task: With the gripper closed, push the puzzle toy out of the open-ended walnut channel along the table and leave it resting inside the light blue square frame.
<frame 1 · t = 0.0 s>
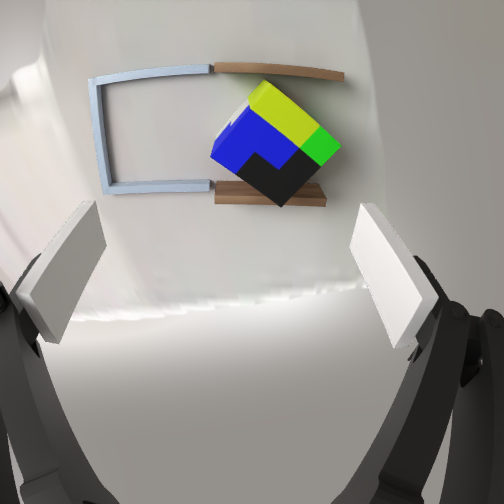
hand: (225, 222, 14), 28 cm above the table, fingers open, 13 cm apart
puzzle toy: (268, 128, 38), on the table
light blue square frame: (155, 130, 37), on the table
channel: (272, 129, 38), on the table
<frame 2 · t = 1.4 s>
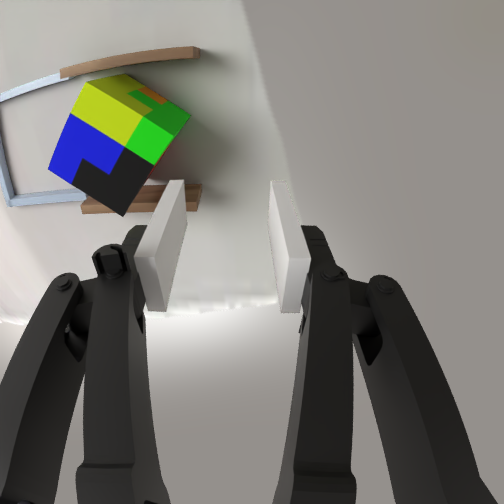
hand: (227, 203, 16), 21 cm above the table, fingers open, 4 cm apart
puzzle toy: (135, 126, 32), on the table
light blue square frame: (38, 142, 31), on the table
channel: (138, 126, 32), on the table
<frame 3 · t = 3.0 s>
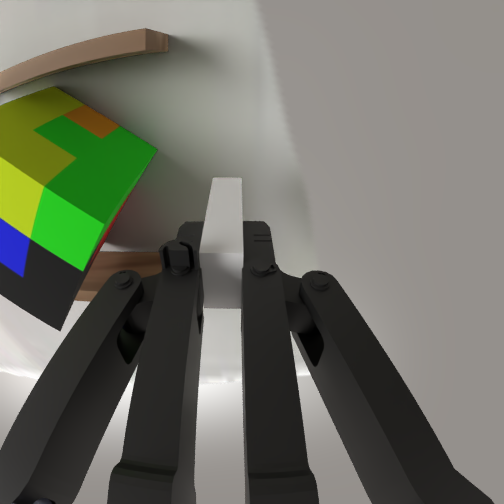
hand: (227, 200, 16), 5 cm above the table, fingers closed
puzzle toy: (77, 167, 20), on the table
channel: (81, 168, 19), on the table
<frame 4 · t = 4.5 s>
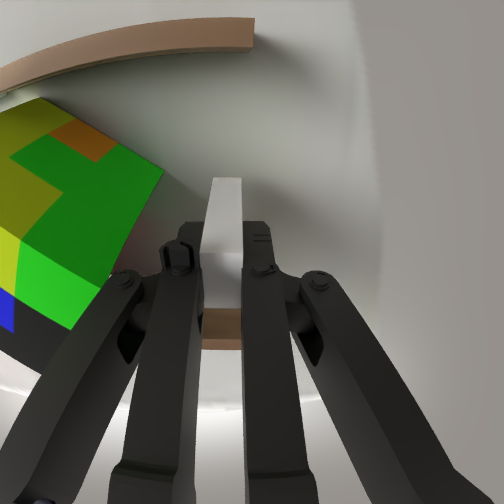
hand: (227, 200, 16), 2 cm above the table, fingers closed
puzzle toy: (71, 192, 17), on the table, touching hand
channel: (123, 188, 17), on the table
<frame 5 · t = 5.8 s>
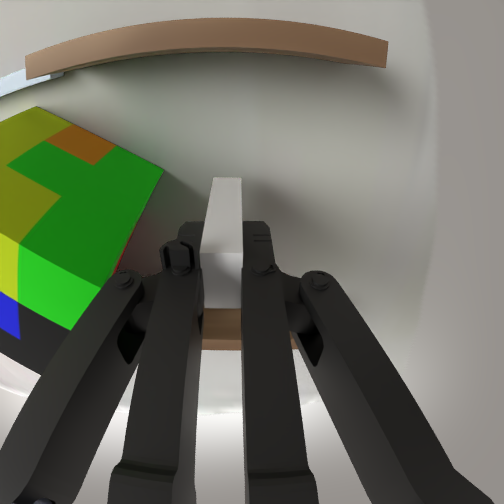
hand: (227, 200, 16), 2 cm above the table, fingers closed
puzzle toy: (73, 197, 17), on the table, touching hand
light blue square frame: (6, 198, 16), on the table
channel: (204, 186, 17), on the table
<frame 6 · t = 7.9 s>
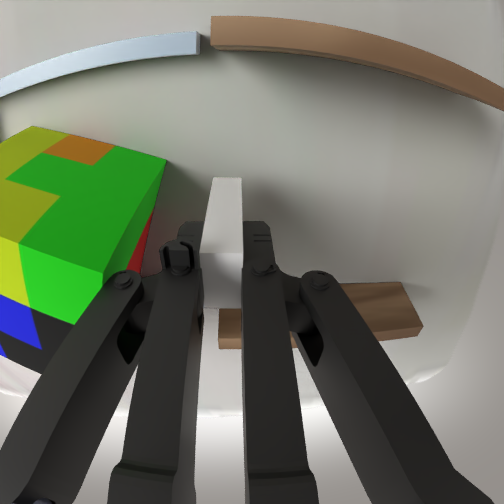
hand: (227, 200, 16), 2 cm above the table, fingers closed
puzzle toy: (84, 206, 18), on the table, touching hand
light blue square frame: (90, 189, 17), on the table
channel: (339, 189, 18), on the table
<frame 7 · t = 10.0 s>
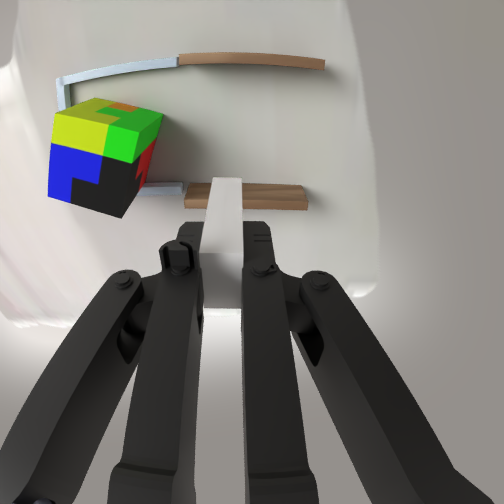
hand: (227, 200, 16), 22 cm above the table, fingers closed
puzzle toy: (120, 139, 34), on the table
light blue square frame: (124, 130, 33), on the table
channel: (248, 125, 34), on the table
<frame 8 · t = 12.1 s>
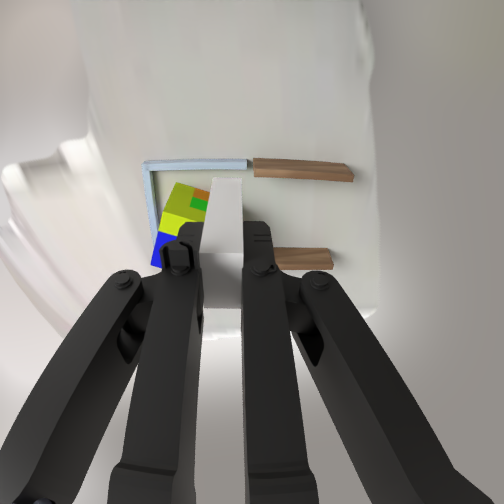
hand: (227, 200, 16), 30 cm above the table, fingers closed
puzzle toy: (196, 214, 51), on the table
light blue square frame: (201, 208, 50), on the table
channel: (294, 210, 51), on the table
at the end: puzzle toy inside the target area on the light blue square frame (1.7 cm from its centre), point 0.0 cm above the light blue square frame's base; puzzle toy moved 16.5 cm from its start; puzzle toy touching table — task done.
